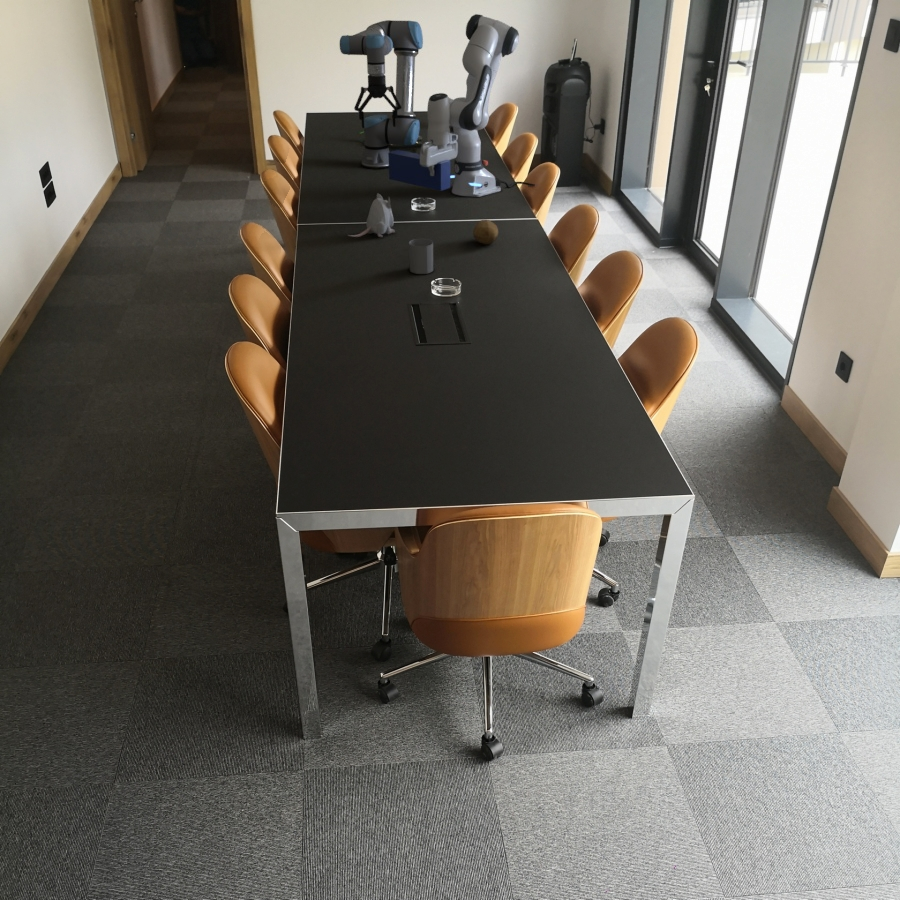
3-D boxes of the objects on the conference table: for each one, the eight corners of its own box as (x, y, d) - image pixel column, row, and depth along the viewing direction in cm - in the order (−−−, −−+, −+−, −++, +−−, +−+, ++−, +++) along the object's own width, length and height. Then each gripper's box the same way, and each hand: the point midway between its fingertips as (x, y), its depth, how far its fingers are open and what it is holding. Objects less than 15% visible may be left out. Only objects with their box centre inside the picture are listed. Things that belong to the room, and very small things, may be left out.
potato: (495, 236, 338) (496, 216, 334) (500, 248, 327) (500, 227, 322) (471, 236, 338) (471, 216, 334) (474, 249, 326) (474, 228, 322)
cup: (409, 265, 311) (408, 238, 306) (432, 265, 312) (431, 238, 307) (410, 274, 304) (409, 246, 299) (433, 273, 305) (433, 246, 299)
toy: (400, 232, 342) (399, 194, 334) (355, 247, 327) (353, 208, 319) (385, 227, 347) (383, 189, 339) (340, 242, 333) (337, 203, 324)
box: (389, 179, 363) (388, 152, 357) (398, 175, 367) (398, 149, 362) (441, 191, 349) (441, 163, 343) (450, 187, 353) (450, 160, 347)
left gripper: (347, 77, 362) (350, 129, 374) (406, 75, 366) (408, 127, 378) (346, 73, 369) (349, 126, 380) (404, 72, 372) (405, 123, 384)
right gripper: (428, 144, 334) (428, 180, 341) (460, 134, 347) (460, 169, 355) (415, 141, 337) (416, 177, 345) (448, 132, 351) (447, 167, 358)
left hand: (378, 126), depth 379 cm, fingers open, 13 cm apart
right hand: (438, 173), depth 350 cm, fingers closed on box, 6 cm apart
